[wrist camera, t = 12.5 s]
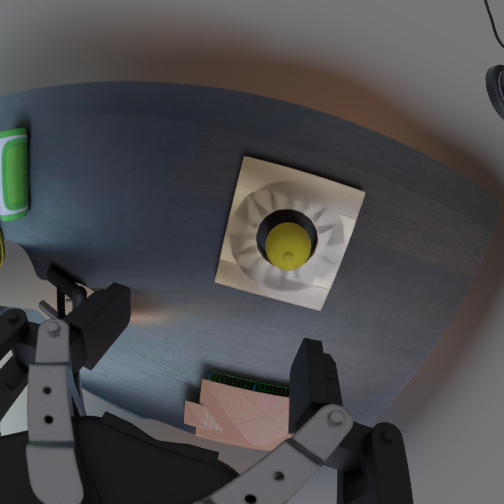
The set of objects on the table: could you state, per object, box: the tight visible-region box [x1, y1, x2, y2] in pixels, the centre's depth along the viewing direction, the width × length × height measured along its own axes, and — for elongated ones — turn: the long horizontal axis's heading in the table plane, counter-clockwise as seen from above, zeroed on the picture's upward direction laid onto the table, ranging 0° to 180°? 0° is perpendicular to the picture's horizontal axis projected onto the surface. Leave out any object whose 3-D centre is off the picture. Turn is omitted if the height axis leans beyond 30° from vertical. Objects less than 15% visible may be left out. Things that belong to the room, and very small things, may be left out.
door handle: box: [39, 267, 87, 320], centre depth 47 cm, size 3×20×16 cm
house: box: [184, 371, 293, 452], centre depth 47 cm, size 23×33×8 cm
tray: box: [215, 156, 365, 311], centre depth 36 cm, size 18×16×2 cm
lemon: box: [265, 222, 311, 271], centre depth 33 cm, size 6×6×8 cm
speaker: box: [0, 128, 29, 221], centre depth 35 cm, size 18×7×8 cm, turn 175°
